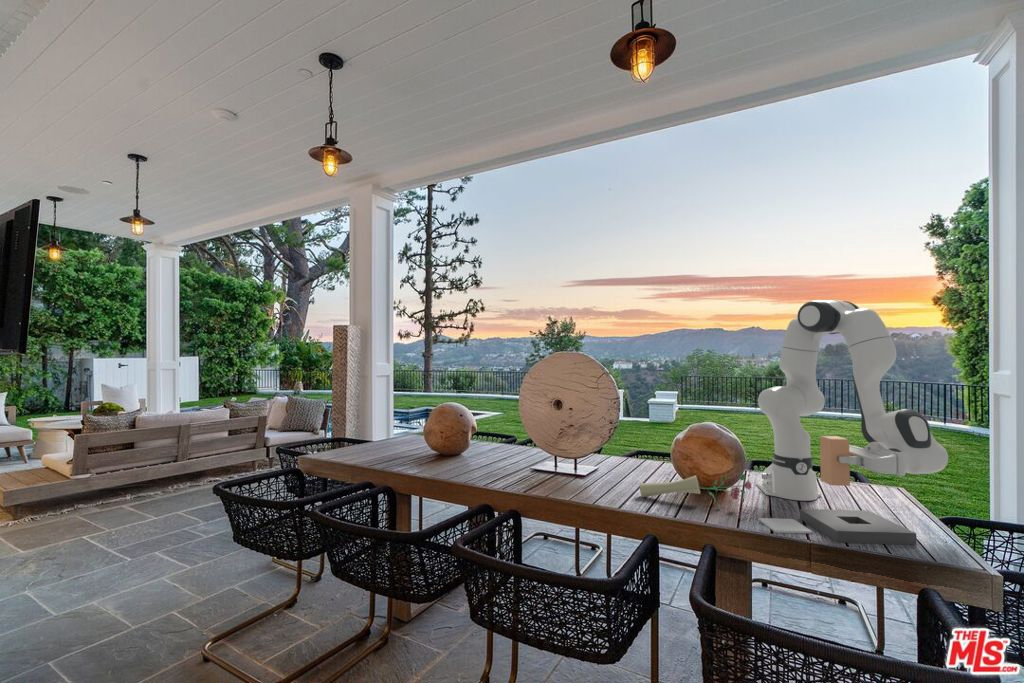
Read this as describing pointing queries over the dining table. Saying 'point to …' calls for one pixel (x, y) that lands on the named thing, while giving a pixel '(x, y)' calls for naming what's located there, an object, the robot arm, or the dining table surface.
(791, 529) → the mat
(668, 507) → the dining table surface
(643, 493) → the flower vase
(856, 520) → the holder
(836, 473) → the peg
